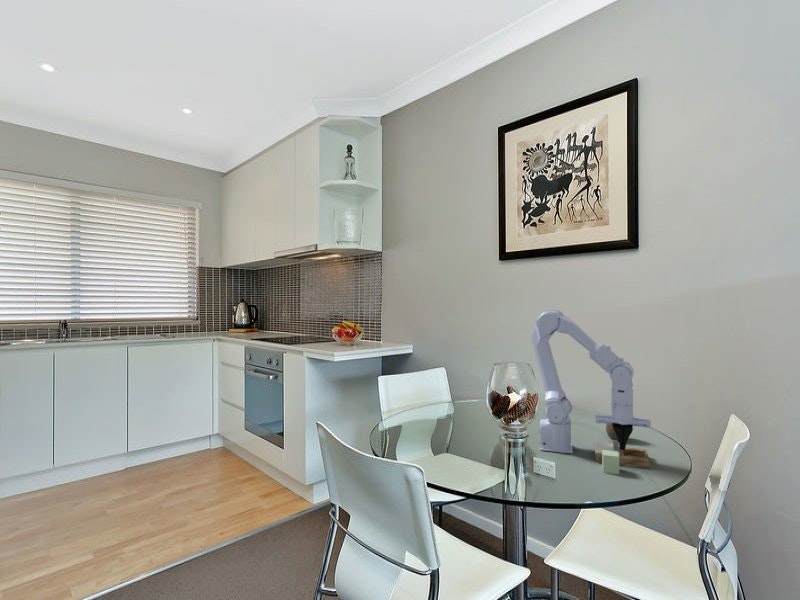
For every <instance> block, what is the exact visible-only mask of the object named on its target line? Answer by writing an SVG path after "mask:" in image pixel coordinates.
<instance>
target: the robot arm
mask: <svg viewBox="0 0 800 600" xmlns="http://www.w3.org/2000/svg"><path fill="white" fill-rule="evenodd" d="M554 333H559V334H566V335H568V336H570V337H571V338H573V340H574V341H576V342H577V343H578V344H579V345H581V346H582V347H583V348H585V350H587V351H588V353H589V359H591V360H592V361H594V363H595V364H597V365H598V366H599V367H600V368H601V369H602V370H603V371H605V372H606V373H608V374H609V377H610V379H611V385H612V386H611V414H609V415H608V414H607V415H599V414H598V415H597V414H595V415H594V417H595V419H594V422H595V424H605V425H606V424H612V426H613V429H614V431H615V433H616V435H617V438H618V447H619V448H620V450H625V448H627V447H626V446H627V443H628V442H629V441H628V440H629V438H630V436H631V435H632V433H633V430H634V427H641V428H642V427H643V428H646V429H651V428H652V427H651V426H652V425H651V423H652V422H651V420H650V419H645V418H640V417H634V388H633V385H634V383H633V377H634V368H633V366H632V365H631V364H630V363H629V362H628V361H625V359H624V358H623V357H619V356H618V355H617V353H615V352H614V351H612V350H611V349H612V347H611V346H610V345H608V344H607V345H605V344H604V343H597V342H596V341H595V340H593V339H592V338H591V336H589V335H588V334H587V333H586V332H585V331H584V330H583V329H582V328H581V327H580V326H578V324H576V322H574V321H573V320H572V319H571V318H570V317H569V316H567V315H565V314H563V312H561V311H560V310H557V309H552V310H549V311H548V310H547V311H543V312H541V313H540V314H539V316H538V317H537V318H536V319H535V321H534V327H533V330H532V334H531V336H530V337H531V339H530V341H531V344H532V346H533V350H534V355H535V359H536V361H537V365H538V369H539V373H540V377H541V381H542V383H543V388H544V391H545V397H544V402H545V410H544V414H545V416H546V418H544V419H543V418H541V419H540V420H539V421H540V422H539V423H540V424H539V425H540V426H539V443H540V444H539V450H541V451H546V452H554V453H563V454H573V443H572V420H571V418H570V415H569V414H570V413H571V412H572V409H573V405H572V403H571V401H570V400H569V398H568V397H567V395H566V392H565V390H564V389H563V388H562V385H561V381H560V377H559V374H558V370H557V367H556V363H555V360H554V356H553V351H552V348H551V344H550V341H549V340H550V339H551V338H552V336H553V335H554Z"/></svg>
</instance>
